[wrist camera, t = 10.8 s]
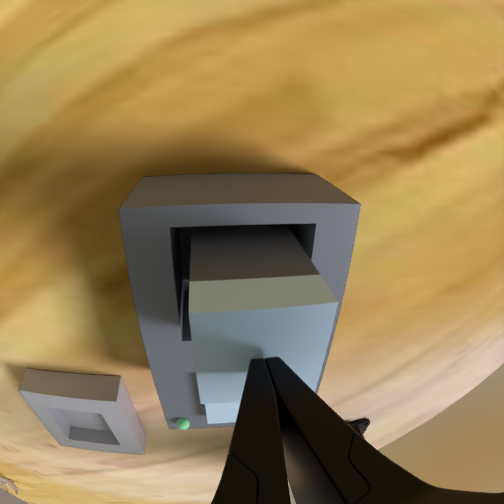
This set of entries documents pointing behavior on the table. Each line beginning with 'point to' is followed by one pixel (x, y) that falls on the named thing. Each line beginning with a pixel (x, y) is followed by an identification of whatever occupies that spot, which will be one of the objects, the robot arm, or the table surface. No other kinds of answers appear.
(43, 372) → the cradle
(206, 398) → the plug
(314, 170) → the table surface
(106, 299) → the table surface
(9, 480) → the anime figure
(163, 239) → the grey dispenser box
